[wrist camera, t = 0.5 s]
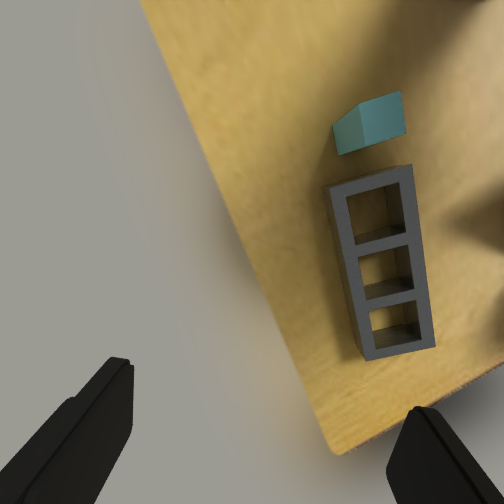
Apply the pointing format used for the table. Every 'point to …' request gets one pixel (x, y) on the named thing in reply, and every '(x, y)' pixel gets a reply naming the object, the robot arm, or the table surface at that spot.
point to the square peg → (370, 123)
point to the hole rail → (407, 261)
